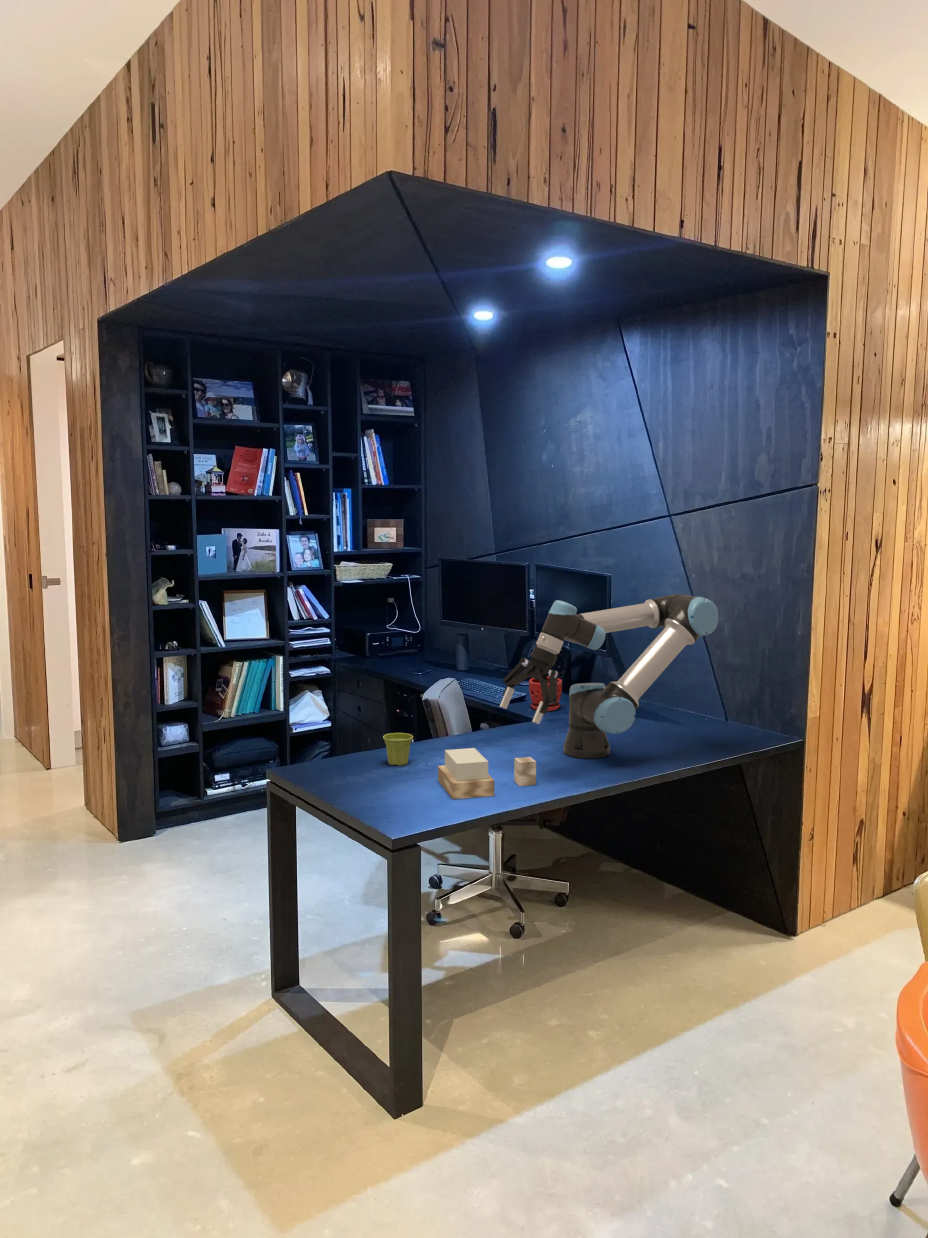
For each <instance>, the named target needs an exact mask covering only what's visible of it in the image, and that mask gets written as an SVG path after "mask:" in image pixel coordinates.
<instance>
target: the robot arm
mask: <svg viewBox="0 0 928 1238" xmlns="http://www.w3.org/2000/svg"><path fill="white" fill-rule="evenodd" d="M577 612H578V609H577V607H576V606H574V605H573V604H570V603H568V602H567V601H563V600H559V599H558V600H555V601H554V602H553V603H552V606H551V607H550V609H549V611H548V614H547V617H546V619H545V622H544V624H543V626H542V629H541V632H540V634H539V636H538V638H537V640H536V642H535V643H536V646H534V647H533V650H532V652H531V654H530V659H527V658H525V657H521V659H520V660H519V662H518V663H517V664H516V666H514V667H513V669H511V670H510V671H509V672H508V674H507V675H505V677H503V679H502V682H503V683H504V684H505V688H504V690H503V694H502V696H503V697H502V700H501V702H500V704H499V708H503V709H505V710H507V708H508V706H509V704H510V703H511V702H510V701H511V700H512V697H513V694H514V692H515V687H516V686H518V685H520V684H521V683H522V682H524V681H525V680H527V679H528V678H530V679H532V678H534V679H537V680H539V682H540V686H541V691H542V696H543V702H542V701H541V702H540V704H539V706H538V709H537V710H535V714H534V716H533V718H532V721H531V722H532V723H534V724H537V725H540V723H541V721H542V718H543V717H544V715H546V713H547V712H548V711H547V709H548V707H549V705H550V704H556V703H557V679H558V678H559V675H560V673H559V672H558V671H557V670H554V669H553V667H554V666H555V663H556V661H557V658H558V654H560V651H561V650H562V647H563V645H564V642H565V641H568V642H571V643H574V644H576V645H577V644H578V645H581V646H583V647H585V648H587V649H590V650H592V651H593V650H594V651H596V650H598V649H599V648H601V647H602V645H603V644H604V642H605V640H606V634H607V633H612V632H620V631H625V630H631V629H637V628H643V627H649V628H650V629H656V628H663V629H662V630H661V631H660V633H659V634H658V635H657V636H656V637H655V638H654V639H653V641H651V643H650V644H649V645H648V646H647V647H646V648H645V649H644V650H643V652H642V653H641V654H640V655H639V657H637V659H636V660H635V661H634V662H633V663H632V664H631V666H630V667H629V668H628V669H627V670H626V671H625V672H624V673H623V674H622V676H621V677H620V678H619V679H618V680H617V681H610V682H609V683H608V684H607V685H606V684H605V683H603V682H585V683H582V682H581V683H574V684H572V685H571V686H570V688H569V694H568V700H569V702H568V707H569V708H568V731H567V734H566V737H565V741H564V744H563V753H564V754H565V755H566V756H569V757H572V758H579V759H600V758H605V757H607V755H608V756H609V755H610V753H611V747H610V742H609V740H608V736H607V733H609V734H615V735H616V734H621V733H623V732H626V731H627V730H629V729H630V728H631V727H632V725H633V723H634V722H635V719H636V717H635V716H636V714H637V713H636V710H637V709H638V708H639V707H640V705H639V699H640V698H641V697H642V696H643V695H644V694H645V692H646V691H647V690H648V689H649V688H650V687H651V685H653V684H654V682H656V680H657V679H658V677H659V676H660V675H661V674H662V673H663V672H664V671H665V670H666V669H667V667H668V666H669V665H670V664H671V663H672V662H673V660H675V658H676V657H677V656H678V655H679V653H680V652H682V650H683V649H684V648H685V647H686V646H688V645H694V644H695V643H696V641H698V639H699V638H700V637H701V636H708V635H710V634H712V633H713V632H714V631H715V630H716V628H717V627H718V624H719V610H718V608H717V606H716V605H715V603H714V602H713V601H712V600H711V599H708V598H705V597H703V596H693V595H687V594H683V593H682V594H681V593H678V594H671V595H670V594H669V595H665V596H660V597H655V598H649V599H647V600H645V602H644V603H637V604H633V605H632V604H631V605H625V606H620V607H614V608H608V609H602V610H595V611H590V612H584V613H579V614H577ZM547 677H550V678H549V688H548V678H547Z"/></svg>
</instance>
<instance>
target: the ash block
mask: <svg viewBox="0 0 928 1238" xmlns="http://www.w3.org/2000/svg"><path fill="white" fill-rule="evenodd" d="M513 762H514V763H513V764H514V766H513V769H514V770H513V771H514V772H513V777H514V779H513V780H514V781H513V782H514V783H515V784H517V786H519V787H525V786H526V787H527V786H537V785H536V784H537V761H536V760H535V759H533V757H531V756H525V757H523V756H522V757H514V760H513Z"/></svg>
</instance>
